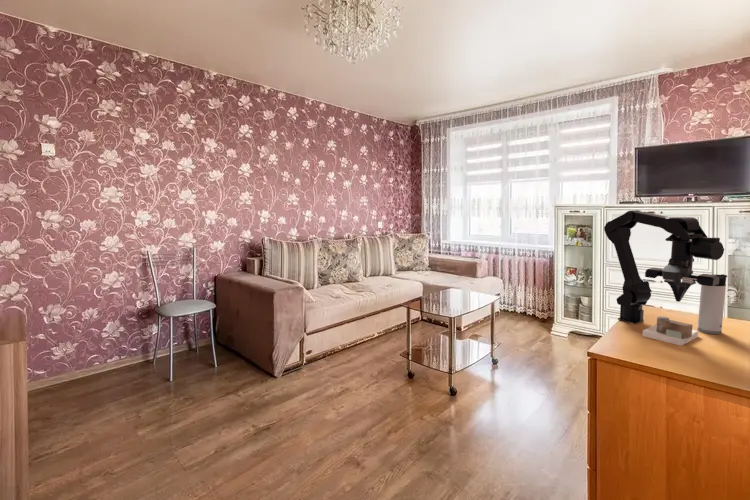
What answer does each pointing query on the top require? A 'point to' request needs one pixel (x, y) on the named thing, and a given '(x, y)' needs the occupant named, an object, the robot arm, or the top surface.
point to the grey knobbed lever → (674, 326)
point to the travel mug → (712, 307)
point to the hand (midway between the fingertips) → (678, 301)
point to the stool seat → (668, 335)
